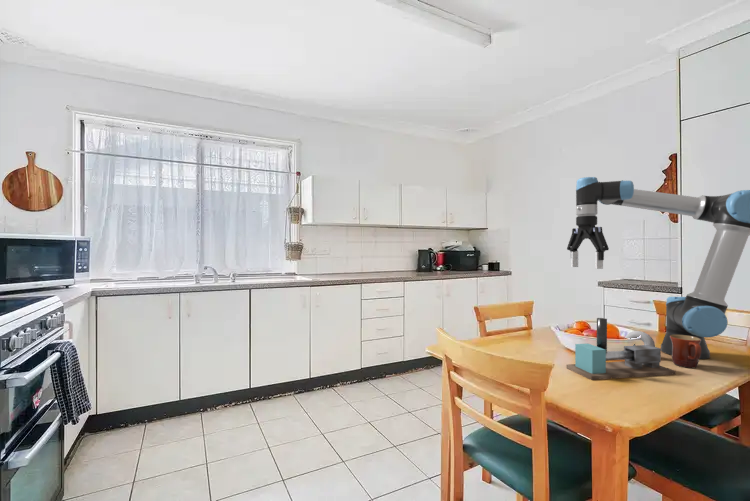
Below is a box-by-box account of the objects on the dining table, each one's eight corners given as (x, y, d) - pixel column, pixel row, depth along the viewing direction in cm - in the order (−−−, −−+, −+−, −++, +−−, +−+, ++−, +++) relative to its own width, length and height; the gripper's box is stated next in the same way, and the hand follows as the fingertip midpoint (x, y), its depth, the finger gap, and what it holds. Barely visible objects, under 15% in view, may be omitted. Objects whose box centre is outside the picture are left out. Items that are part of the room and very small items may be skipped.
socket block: (588, 365, 130) (588, 343, 129) (605, 373, 122) (605, 349, 122) (575, 366, 129) (575, 344, 129) (592, 373, 121) (592, 350, 121)
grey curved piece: (656, 358, 142) (656, 332, 142) (653, 360, 139) (653, 334, 139) (625, 352, 149) (626, 328, 149) (623, 354, 147) (623, 329, 147)
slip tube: (632, 357, 130) (632, 316, 129) (639, 360, 127) (639, 318, 126) (585, 360, 127) (585, 318, 126) (592, 362, 124) (592, 320, 123)
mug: (664, 361, 138) (664, 334, 138) (691, 362, 137) (691, 335, 136) (684, 371, 127) (684, 342, 126) (713, 373, 125) (714, 343, 125)
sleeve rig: (644, 363, 136) (644, 342, 135) (675, 374, 124) (675, 351, 124) (566, 368, 130) (566, 345, 130) (591, 380, 119) (591, 355, 118)
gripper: (558, 218, 161) (558, 266, 161) (602, 212, 136) (601, 269, 136) (573, 218, 162) (573, 266, 162) (619, 213, 137) (619, 269, 138)
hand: (586, 267), depth 149 cm, fingers open, 13 cm apart
